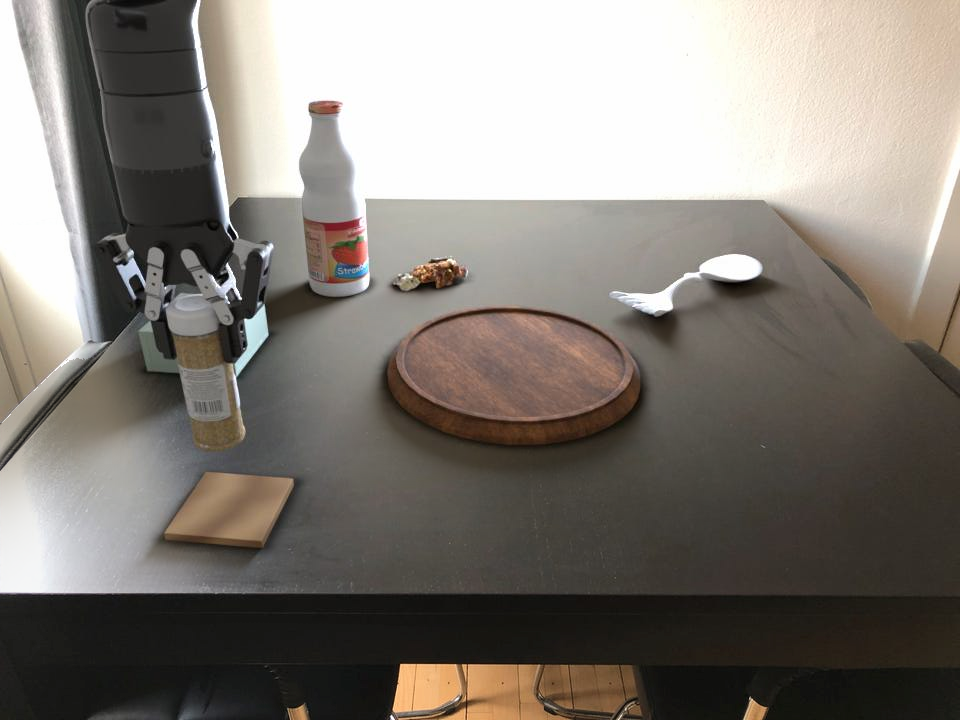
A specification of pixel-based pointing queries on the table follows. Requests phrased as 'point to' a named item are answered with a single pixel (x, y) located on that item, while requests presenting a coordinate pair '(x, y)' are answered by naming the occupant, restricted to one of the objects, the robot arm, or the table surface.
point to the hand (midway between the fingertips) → (203, 356)
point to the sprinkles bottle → (205, 374)
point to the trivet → (231, 510)
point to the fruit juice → (333, 206)
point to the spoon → (717, 269)
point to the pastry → (432, 274)
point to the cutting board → (514, 375)
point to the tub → (156, 361)
